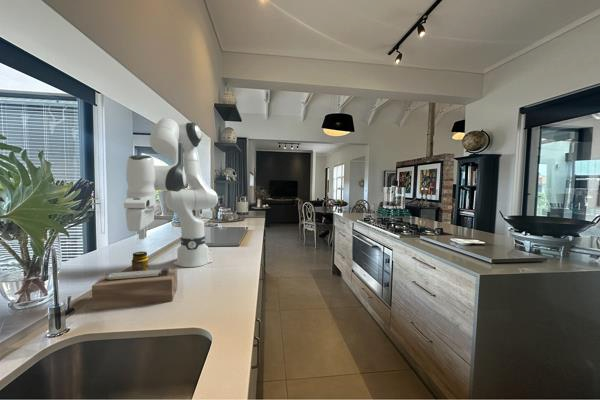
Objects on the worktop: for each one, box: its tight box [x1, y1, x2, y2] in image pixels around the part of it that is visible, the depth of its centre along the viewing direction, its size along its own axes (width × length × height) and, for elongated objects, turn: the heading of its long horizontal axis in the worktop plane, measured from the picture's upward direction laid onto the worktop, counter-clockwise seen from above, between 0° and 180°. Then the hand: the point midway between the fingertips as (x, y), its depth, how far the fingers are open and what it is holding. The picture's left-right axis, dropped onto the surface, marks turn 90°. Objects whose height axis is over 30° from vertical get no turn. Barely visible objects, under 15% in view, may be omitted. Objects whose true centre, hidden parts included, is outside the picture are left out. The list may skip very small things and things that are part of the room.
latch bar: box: [105, 269, 162, 280], centre depth 96 cm, size 4×17×1 cm, turn 107°
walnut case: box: [91, 267, 178, 310], centre depth 97 cm, size 12×24×10 cm, turn 107°
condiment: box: [131, 251, 149, 272], centre depth 113 cm, size 7×8×12 cm
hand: (142, 238), depth 96 cm, fingers closed
